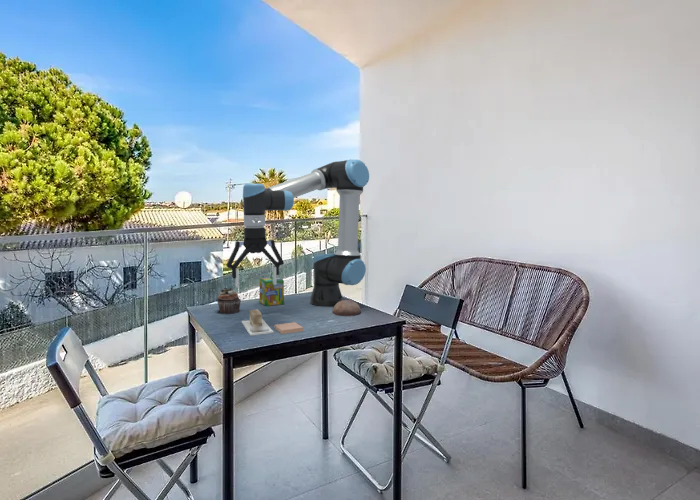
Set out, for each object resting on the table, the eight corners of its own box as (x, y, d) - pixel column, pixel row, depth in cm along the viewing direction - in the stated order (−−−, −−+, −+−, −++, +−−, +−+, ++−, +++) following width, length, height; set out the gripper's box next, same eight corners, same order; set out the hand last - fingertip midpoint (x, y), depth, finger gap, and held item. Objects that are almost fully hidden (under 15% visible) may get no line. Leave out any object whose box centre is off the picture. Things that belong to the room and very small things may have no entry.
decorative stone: (331, 310, 177) (331, 297, 177) (358, 309, 178) (359, 297, 178) (333, 317, 166) (333, 303, 165) (362, 316, 167) (362, 303, 166)
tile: (295, 322, 152) (303, 327, 145) (295, 326, 152) (303, 332, 145) (274, 324, 148) (281, 330, 141) (274, 329, 149) (281, 335, 141)
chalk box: (259, 302, 190) (258, 271, 188) (278, 300, 194) (277, 269, 193) (264, 306, 182) (264, 274, 180) (284, 304, 186) (284, 272, 185)
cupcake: (239, 314, 169) (239, 290, 168) (215, 314, 167) (214, 290, 166) (242, 308, 178) (241, 286, 177) (219, 309, 177) (218, 286, 176)
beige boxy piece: (261, 321, 155) (261, 308, 154) (269, 331, 143) (269, 317, 142) (245, 323, 152) (245, 310, 152) (252, 333, 140) (251, 318, 140)
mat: (262, 320, 159) (262, 318, 159) (273, 333, 142) (273, 331, 142) (241, 322, 156) (241, 321, 156) (250, 335, 139) (250, 334, 139)
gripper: (219, 228, 137) (221, 290, 140) (291, 226, 148) (292, 284, 150) (217, 227, 144) (219, 286, 147) (285, 226, 154) (286, 281, 157)
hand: (256, 285), depth 148 cm, fingers open, 13 cm apart
